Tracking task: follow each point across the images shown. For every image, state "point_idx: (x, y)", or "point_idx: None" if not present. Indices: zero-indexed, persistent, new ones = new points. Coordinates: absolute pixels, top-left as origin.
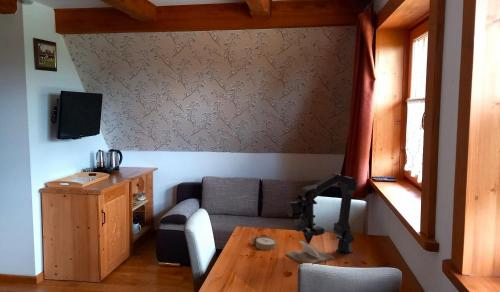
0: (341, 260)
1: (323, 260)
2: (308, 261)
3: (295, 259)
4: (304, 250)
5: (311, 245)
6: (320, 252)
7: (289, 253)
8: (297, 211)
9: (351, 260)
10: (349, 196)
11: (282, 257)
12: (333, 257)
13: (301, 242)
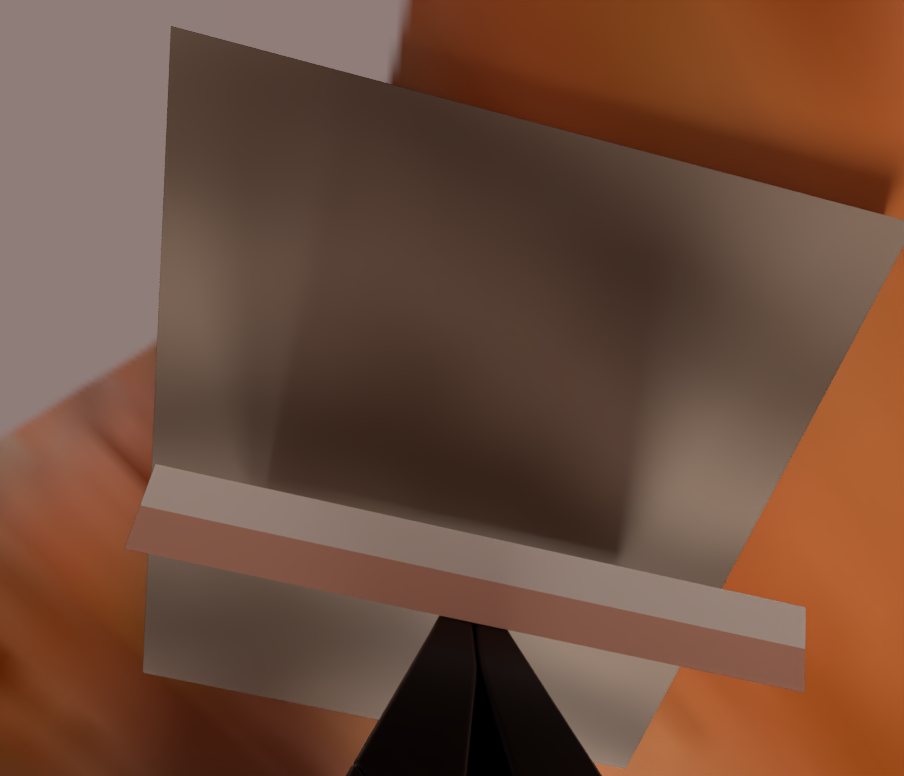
0: (70, 672)
1: None
2: (247, 203)
3: (556, 131)
4: None
5: (228, 550)
6: None
7: (828, 266)
8: None
9: (7, 744)
10: None
11: (884, 31)
12: (143, 658)
13: (703, 594)
